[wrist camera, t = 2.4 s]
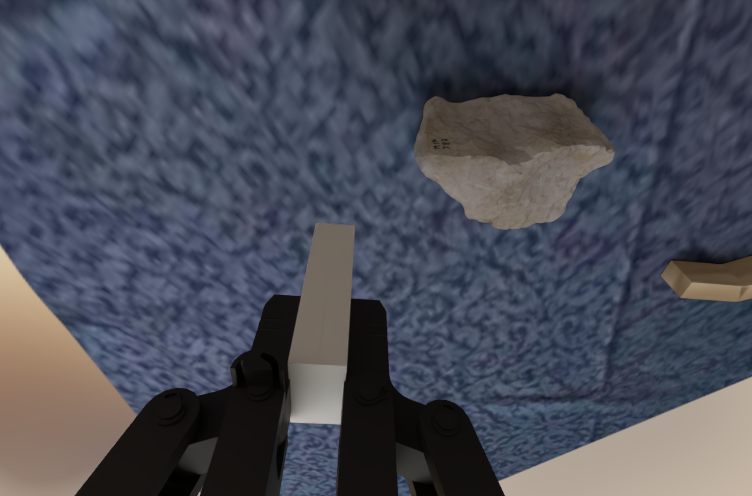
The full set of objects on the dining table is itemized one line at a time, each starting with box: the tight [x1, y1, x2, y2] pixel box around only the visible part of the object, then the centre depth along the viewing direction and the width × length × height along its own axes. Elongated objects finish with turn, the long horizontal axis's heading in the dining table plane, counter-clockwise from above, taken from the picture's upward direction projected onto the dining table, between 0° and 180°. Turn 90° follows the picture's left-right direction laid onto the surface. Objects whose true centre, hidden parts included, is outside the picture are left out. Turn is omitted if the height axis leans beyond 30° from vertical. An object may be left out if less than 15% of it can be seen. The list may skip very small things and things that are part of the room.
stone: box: [414, 93, 616, 230], centre depth 23 cm, size 8×10×6 cm
